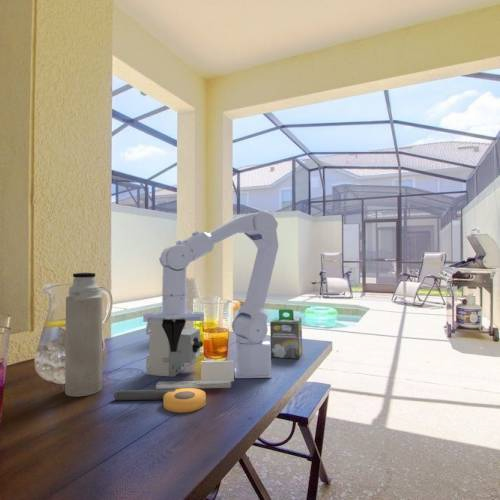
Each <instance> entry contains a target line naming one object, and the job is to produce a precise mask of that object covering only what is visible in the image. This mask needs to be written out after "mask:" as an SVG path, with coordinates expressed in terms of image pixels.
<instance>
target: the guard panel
mask: <svg viewBox="0 0 500 500" xmlns="http://www.w3.org/2000/svg"><path fill="white" fill-rule="evenodd" d="M200 381H201V382H216V381H231V382H235V361H234V360H201V362H200Z"/></svg>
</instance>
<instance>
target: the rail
mask: <svg viewBox="0 0 500 500" xmlns="http://www.w3.org/2000/svg"><path fill="white" fill-rule="evenodd" d="M155 384H156V385H155V390H176V389H182V388H195V389H231V388H232V381H216V382H201V380H183V381H182V380H181V381H178V380H176V381H175V380H174V381H168V380H167V381H157V383H155Z"/></svg>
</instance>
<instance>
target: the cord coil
mask: <svg viewBox="0 0 500 500" xmlns="http://www.w3.org/2000/svg"><path fill="white" fill-rule="evenodd" d="M175 390H176V391H174V392H168V393H166V394H165V395H164V397H163V399H162V400H163V401H162V402H163V408H164V409H165V410H167V411H168V412H171V413H178V414H179V413H191V412H195V411H198V410H200V409H203V407H205V406H206V404H207V401H206V400H207V395H206V392H205V391H204V390H202V389H201V388H182V389H175Z"/></svg>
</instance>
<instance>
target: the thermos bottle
mask: <svg viewBox="0 0 500 500" xmlns="http://www.w3.org/2000/svg"><path fill="white" fill-rule="evenodd" d="M72 277H73V281H72V285H71V286H70V287H68V296H66V297H65V349H64V350H65V355H64V356H65V362H64V364H65V366H64V367H65V371H64V372H65V373H64V374H65V378H64V380H65V383H64V385H65V386H64V387H65V388H64V393H65V395H66V396H68V397H78V398H79V397H85V396H91V395H94V394H96V393H98V392H100V391H101V390H102V389H103V295H100V290H101V289H100V286H99V285H97V284H96V278H95V277H96V272H95V273H94V272H77V273H72Z"/></svg>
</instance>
